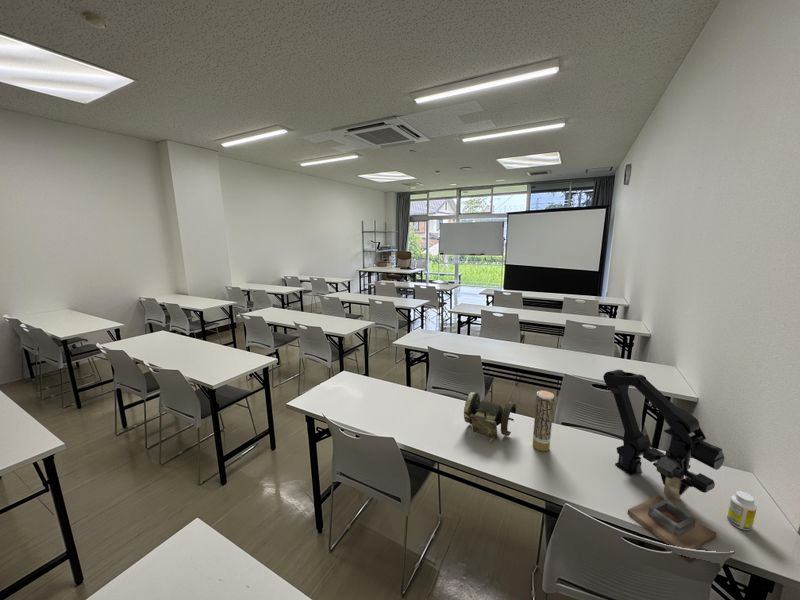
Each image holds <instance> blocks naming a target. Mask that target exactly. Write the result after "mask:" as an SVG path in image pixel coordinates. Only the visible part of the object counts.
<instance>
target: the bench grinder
mask: <svg viewBox="0 0 800 600" xmlns="http://www.w3.org/2000/svg"><path fill="white" fill-rule="evenodd" d="M463 408H464V409H463V419H464V422H466V423H468V424H470V425H471V430H472V433H473V437H475V436H476V435H475V434H479V435H481V436H484V437H487V438H491V439H490V440H489V443H491V441H493V440H498V439H499V437H498V427H497V426H499V425H500V434H501V435H503V436H507V437H509V436H510V435H511V433H512V432H511V431H509V430H508V427H509V426H508V425H509V421H512V422H514V418H512V417H510V415H511V413H512V414H516V412H517V406H516V403H513V402H511V401H507V402H506V404H505V405H504V408H503V407H502V406H501V405H500V404H498V403H494V402H491V401H488V400H481V396H480V394H479V393H478V392H474V391H471V392H470V393H469V394H467V398H466V400H465V405H464V407H463Z"/></svg>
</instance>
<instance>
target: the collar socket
mask: <svg viewBox="0 0 800 600" xmlns="http://www.w3.org/2000/svg"><path fill="white" fill-rule="evenodd" d="M627 514H628V515H629V516H630V517H631V518H632V519H634V520H635V521H637V522H638V523H639V524H641V525H642V526H643V527H644V528H645V529H647V530H648V531H649V532H651V533H652V534H654V535H655V536H656V537H657V538H658V539H660V540H661V541H663V542H664V543H666V544H667V545H668V544H669V545H673V546H677V547H682V548H690V549H697V550H699V549H700V548H702V547H704V546H705V545H706V544H708V543H710V542H712V541H713V540H714V539H716V538H717V536H718V533H716V532H715V531H714V530H712V529H711V528H709V527H708V526H706V525H705V524H703V523H702V522H700V521H699V520H697V519H696V518H695V517H694V516H693V515H690V514H689V513H688V512H685V511H684V510H682V509H681V507H680V508H679V507H678V506H677V505H675V504H674V503H672V502H671V501H669V500H668V499H666V498H664V497H662V496H660V495H658V494H657V495H656V496H653V497H651V498H650V499H647V500H645V501H643V502H642V503H639V504H637V505H635V506H633V507H631V508H629V509H627ZM669 545H668V546H669Z"/></svg>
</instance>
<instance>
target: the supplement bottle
mask: <svg viewBox="0 0 800 600" xmlns="http://www.w3.org/2000/svg"><path fill="white" fill-rule="evenodd" d="M729 501H730V502H729V506H728V511H727V514H726V515H727V516H726V518H727V521H728V522H730V524H732V526H735V527H736V528H738V529H741V530H743V531H751V530H752V528H753V526H754V523H755V516H756V512H757V505H756V504H755V498H754V497H753V496H752V495H750V494H749V493H747V492H745V491H740V490H739V491H738V490H737V491H736V492H735V495H732V496H731V497H730V500H729Z"/></svg>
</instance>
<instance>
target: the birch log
mask: <svg viewBox="0 0 800 600" xmlns="http://www.w3.org/2000/svg"><path fill="white" fill-rule="evenodd" d="M554 405H555V394H554V393H553V392H550V391H549V390H538V391H537V392H536V399H535V407H534V408H535V411H534V422H533V423H534V424H533V434H532V446H533V448H534V449H536V450H538V451H539V452H547V451H549V449H550V443H551V436H552V425H553V416H554V415H553V414H554Z"/></svg>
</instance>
